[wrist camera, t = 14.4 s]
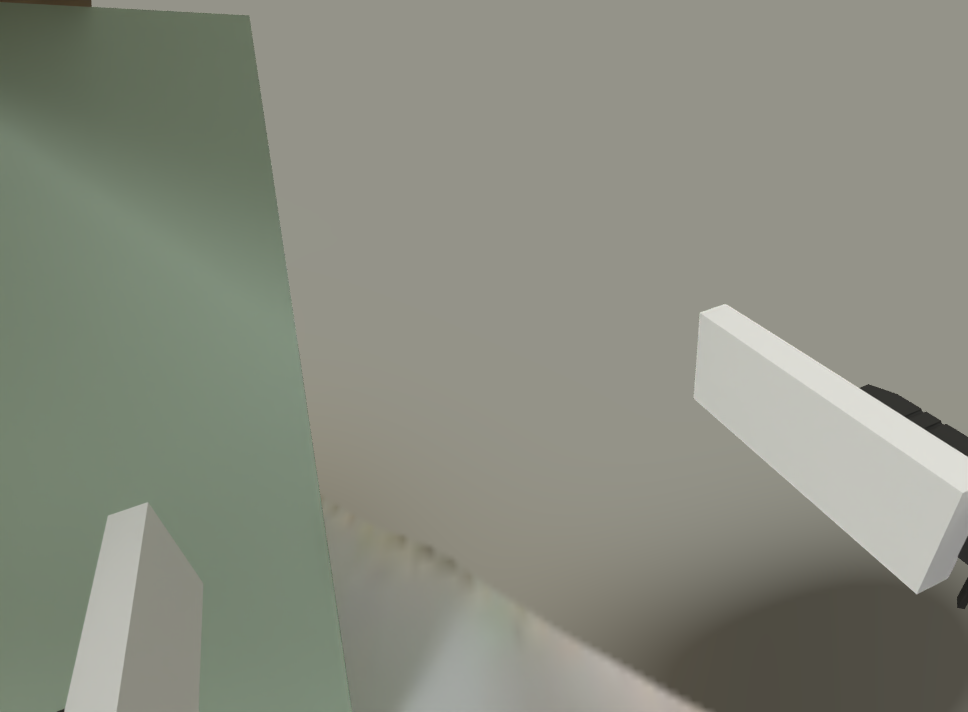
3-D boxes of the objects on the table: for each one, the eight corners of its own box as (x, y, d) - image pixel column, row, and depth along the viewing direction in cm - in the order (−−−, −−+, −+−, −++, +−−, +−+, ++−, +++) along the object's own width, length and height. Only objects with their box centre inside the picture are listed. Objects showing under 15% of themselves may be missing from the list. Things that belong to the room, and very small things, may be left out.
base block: (360, 765, 23) (249, 15, 13) (43, 944, 18) (-496, -25, 8) (272, 551, 34) (177, 60, 24) (63, 627, 29) (-160, 54, 19)
